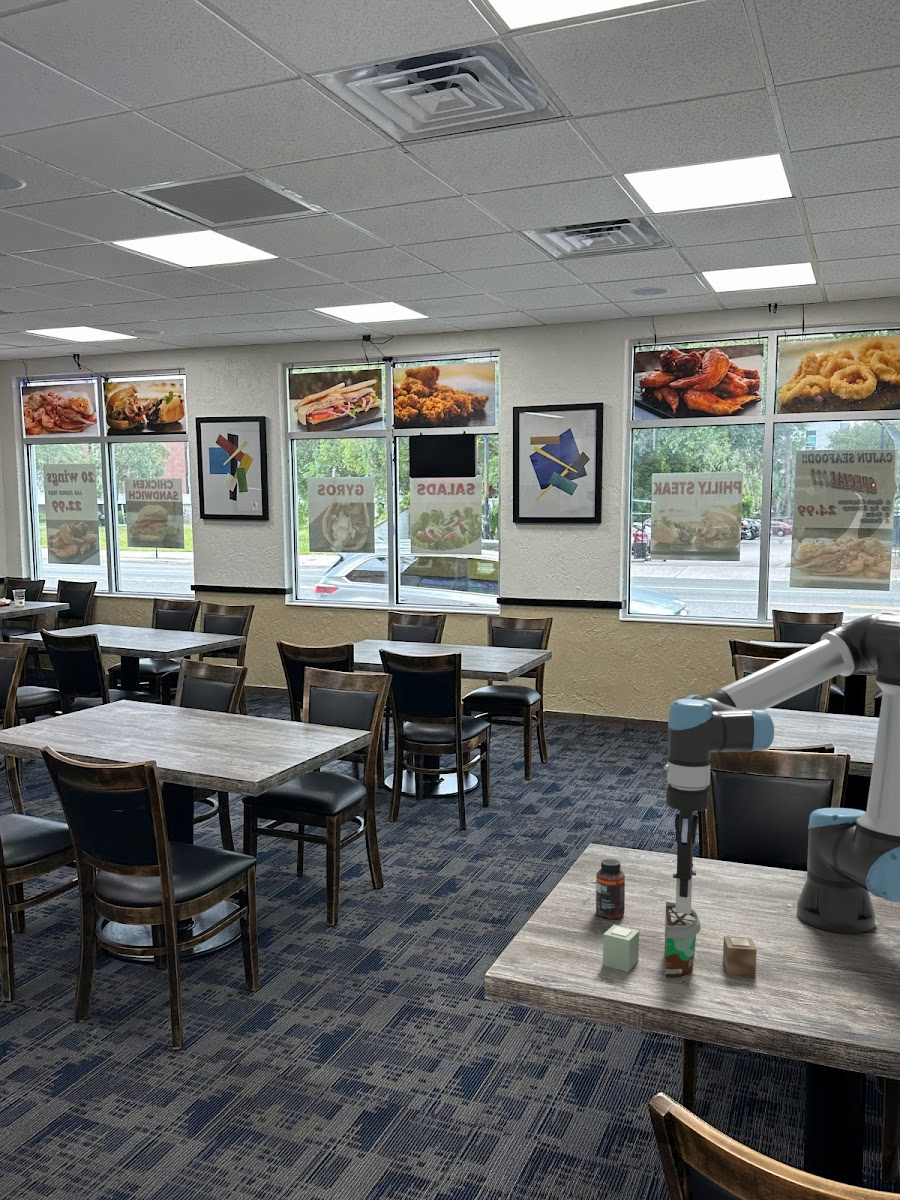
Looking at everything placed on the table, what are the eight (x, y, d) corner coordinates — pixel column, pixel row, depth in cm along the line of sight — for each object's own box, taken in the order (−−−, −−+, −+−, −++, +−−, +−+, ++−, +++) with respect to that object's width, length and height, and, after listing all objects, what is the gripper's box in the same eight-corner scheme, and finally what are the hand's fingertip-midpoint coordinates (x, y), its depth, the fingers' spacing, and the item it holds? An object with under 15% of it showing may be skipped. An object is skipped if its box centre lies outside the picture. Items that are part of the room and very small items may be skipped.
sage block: (638, 962, 176) (639, 929, 176) (628, 972, 172) (629, 939, 171) (613, 955, 179) (614, 923, 178) (602, 965, 174) (603, 932, 174)
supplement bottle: (623, 909, 200) (624, 857, 199) (625, 920, 194) (626, 867, 194) (594, 908, 201) (596, 856, 200) (596, 919, 195) (597, 866, 194)
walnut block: (750, 963, 176) (751, 936, 176) (755, 976, 171) (756, 948, 171) (722, 961, 177) (723, 935, 176) (727, 974, 172) (728, 946, 171)
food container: (701, 985, 167) (703, 930, 166) (665, 981, 168) (667, 926, 168) (697, 954, 179) (699, 903, 179) (664, 951, 180) (665, 900, 180)
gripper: (669, 774, 179) (665, 896, 180) (663, 792, 166) (659, 922, 168) (710, 778, 176) (705, 901, 178) (707, 796, 164) (702, 928, 166)
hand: (683, 911), depth 173 cm, fingers closed
